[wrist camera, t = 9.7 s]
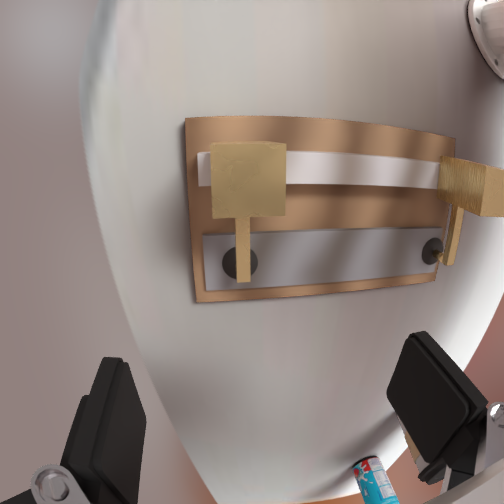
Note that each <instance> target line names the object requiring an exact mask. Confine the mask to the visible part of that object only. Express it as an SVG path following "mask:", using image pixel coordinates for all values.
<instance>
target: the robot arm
mask: <svg viewBox="0 0 504 504" xmlns="http://www.w3.org/2000/svg"><path fill="white" fill-rule="evenodd" d="M468 16H469V23H470V26H471V30H472V33H473V36H474V39H475V41H476V43H477V45H478V48H479V50H480V51H481V53H482V55H483V57H484V58H485V60H486V62H487V63H488V65H489V66H490V67H491V68H492V70H493V71H494V72H495V73H496V74H497V75H498V76H499V77H500V78H502V79H503V80H504V0H503V1H497V0H470V2H469V6H468ZM387 398H388V400H389V402H390V403H391V405H392V407H393V408H394V410H395V412H396V413H397V415H398V417H399V418H400V420H401V422H402V423H403V425H404V427H405V428H406V430H407V432H408V434H409V435H410V437H411V439H412V440H413V442H414V444H415V446H416V447H417V449H418V451H419V453H420V454H421V456H422V458H423V460H424V461H425V462H426V463H429V465H430V466H431V468H433V467H435V466H437V465H439V464H442V463H443V462H444V461H445V462H446V464H447V467H446V472H445V476H444V481H443V485H442V490H441V493H440V495H439V496H437V497H436V498H434V499H431V500H429V501H427V502H425V503H424V504H504V402H495V403H493V404H491V405H490V407H489V408H488V409H487V408H486V405H487V404H488V401H487V399H486V398H485V397H484V396H483V395H482V394H481V392H480V391H479V390H478V389H477V388H476V387H475V385H474V384H473V383H472V382H471V381H470V379H469V378H468V377H467V376H466V375H465V374H464V372H463V371H462V370H461V369H460V368H459V367H458V366H457V364H456V363H455V362H454V361H453V360H452V359H451V358H450V357H449V356H448V354H447V353H446V352H445V351H444V350H443V349H442V348H441V347H440V346H439V345H438V343H437V342H436V341H435V340H434V339H433V338H432V337H431V336H430V335H429V334H428V333H427V332H426V331H421V332H416V333H412V334H410V335H409V337H408V338H407V339H406V340H405V343H404V346H403V349H402V352H401V354H400V357H399V360H398V363H397V365H396V368H395V371H394V373H393V376H392V378H391V381H390V383H389V386H388V388H387ZM145 430H146V416H145V412H144V410H143V407H142V404H141V401H140V398H139V395H138V392H137V389H136V386H135V383H134V380H133V377H132V374H131V371H130V367H129V365H128V363H127V362H123V360H122V358H113V357H104V358H103V359H102V361H101V364H100V366H99V369H98V372H97V375H96V377H95V380H94V383H93V385H92V388H91V391H90V394H89V395H84V396H83V397H82V399H81V401H80V404H79V407H78V409H77V412H76V415H75V418H74V421H73V424H72V427H71V430H70V433H69V436H68V439H67V442H66V446H65V449H64V452H63V456H62V459H61V463H60V466H59V465H55V464H50V465H45V466H42V467H40V468H39V469H37V471H36V472H35V473H34V474H33V476H32V478H31V489H29V490H27V491H25V492H23V493H21V494H19V495H16V496H14V497H12V498H10V499H8V500H6V501H3V502H1V503H0V504H137V503H138V491H139V481H140V470H141V462H142V453H143V445H144V437H145Z"/></svg>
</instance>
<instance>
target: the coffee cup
mask: <svg viewBox="0 0 504 504" xmlns="http://www.w3.org/2000/svg"><path fill="white" fill-rule="evenodd" d="M397 417H398V415H397ZM398 420H399V422H400V425H401V427H402V429H403V432H404V434H405V439H406V442H407V444H408V447H409V449H410V452H411V455H412V457H413V459H414V462H415V464H416V465H417V467H418V470H419V473H420V474H419V475H418V478H419V479H420V480H421V481H422V482H424V481H425V482H426V483H427V484H428V485H431V484H434V483H437V482H438V481H440V480H443V479H444V476H445V472H446V467H447V464H446V462H445V461H444V462H443V463H442V464H439V465H437V466H435V467H433V468H431V466H430V465H429V463H426V462H425V461H424V460H423V458H422V456H421V454H420V453H419V451H418V449H417V447H416V446H415V444H414V442H413V440H412V439H411V437H410V435H409V434H408V432H407V430H406V428H405V427H404V425H403V423H402V422H401V420H400V418H399V417H398Z"/></svg>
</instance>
